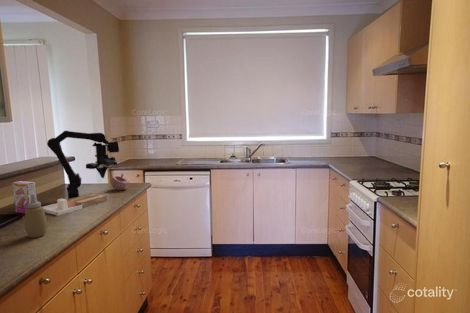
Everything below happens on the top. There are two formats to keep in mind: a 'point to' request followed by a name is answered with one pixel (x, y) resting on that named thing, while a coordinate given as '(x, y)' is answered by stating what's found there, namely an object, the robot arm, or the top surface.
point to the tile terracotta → (71, 204)
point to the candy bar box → (23, 195)
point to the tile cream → (62, 204)
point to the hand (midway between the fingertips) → (102, 177)
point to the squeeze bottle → (35, 219)
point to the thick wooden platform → (88, 200)
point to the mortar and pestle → (119, 182)
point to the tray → (55, 211)
